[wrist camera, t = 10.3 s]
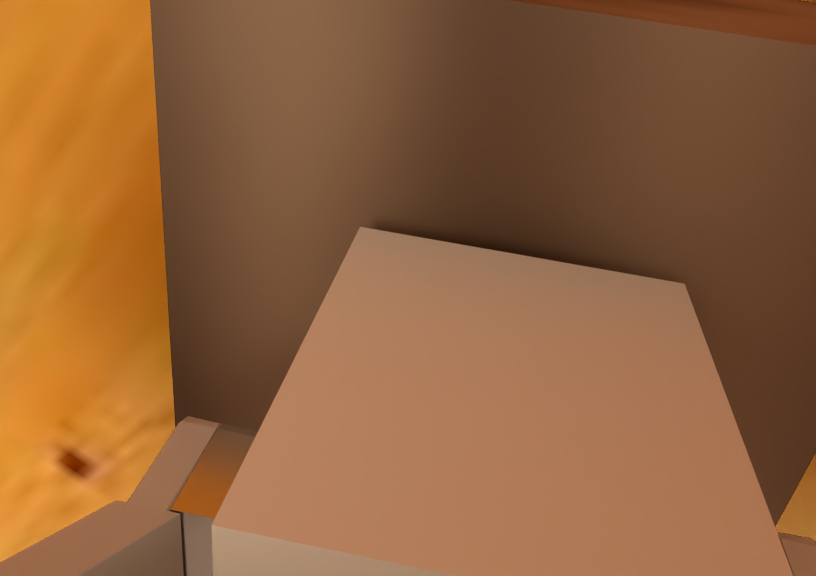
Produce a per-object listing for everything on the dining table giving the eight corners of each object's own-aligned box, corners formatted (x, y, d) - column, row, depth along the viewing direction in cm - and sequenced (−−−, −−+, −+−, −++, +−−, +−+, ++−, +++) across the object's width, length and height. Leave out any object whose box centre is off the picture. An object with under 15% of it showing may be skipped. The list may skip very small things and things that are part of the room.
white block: (684, 283, 11) (822, 651, 6) (600, 514, 13) (641, 912, 8) (360, 226, 11) (211, 524, 6) (338, 461, 14) (219, 812, 9)
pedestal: (847, 7, 15) (1020, 76, 9) (669, 446, 21) (715, 634, 16) (275, -77, 15) (147, -54, 10) (265, 370, 21) (180, 525, 16)
